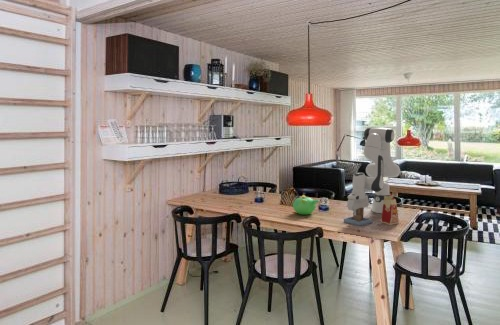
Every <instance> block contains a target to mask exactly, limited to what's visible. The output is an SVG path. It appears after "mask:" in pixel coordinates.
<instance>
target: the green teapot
mask: <svg viewBox="0 0 500 325" xmlns="http://www.w3.org/2000/svg"><path fill="white" fill-rule="evenodd" d="M318 203H320V199H313V198H311V197H309V196H306V195H305V194H302V195H301V196H300V197H297V198H296V199H294V200H293V203H292V208H293V210H294V211H295V213H297V214H299V215H310V214H312V213H313V212H314V211H315V210H316V204H318Z"/></svg>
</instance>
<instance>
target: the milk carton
mask: <svg viewBox="0 0 500 325" xmlns="http://www.w3.org/2000/svg"><path fill="white" fill-rule="evenodd" d="M384 197H385V198H384V203H383V210H382V213H381V223H382V224H386V225H389V226H392V225H396V224H397V225H398V224H400V221H399V210H398V211H397V209H398V205H397V200H396V198H395V197H394V195H393V194H392V196H384Z"/></svg>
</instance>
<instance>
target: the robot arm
mask: <svg viewBox="0 0 500 325" xmlns="http://www.w3.org/2000/svg"><path fill="white" fill-rule="evenodd" d="M363 138H364V140H365V143H364V148H363V155H364V157H365V158H366V159H367V160H369V161H370V162H372V163H368V164H367V166H366V168H365V172H355V173H354V174H353V176H352V191H351V193H350V194H349V195H347V199H348V200H347V207H346V208H347V210H349V211H352V213H353V212H354V215H355V216H356V215H357V213H356V209H358V208H364V209H365V208H367V207H369V205H370V203H369V202H370V201H369V195H368V194H366V191H371V192H374V194H373V198H374V199H373V200H372V205H371V208H370V210H371V211H372V212H373V213H377V214H382V210H383V203H384V198H385V197H384V196H393V194H390V189H391V188H390V184H389V182H387V181H385V180H384V178H388V179H389V178H390V179H391V178H398V177H399V175H400V174H401V169H400V168H401V167H400V166H399V165H398V164H396V163H395V162H394V161H393V159H392V156H391V155H392V154H391V143H392V142H393V141H394V138H395V131H394V129H393V128H389V127H367V128H366V129H365V130H364V133H363ZM365 173H366V175H365ZM397 211H398V212H399V209H398V208H397Z"/></svg>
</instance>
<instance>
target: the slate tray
mask: <svg viewBox="0 0 500 325" xmlns="http://www.w3.org/2000/svg"><path fill="white" fill-rule="evenodd" d="M343 223H347V224H350V225H355V226H358V225H359V226H358V227H363V226H366V225H369V224H373V218H367V217H364V216H363V220H362V221H356V220H353V216H350V217H345V218H343Z"/></svg>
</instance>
